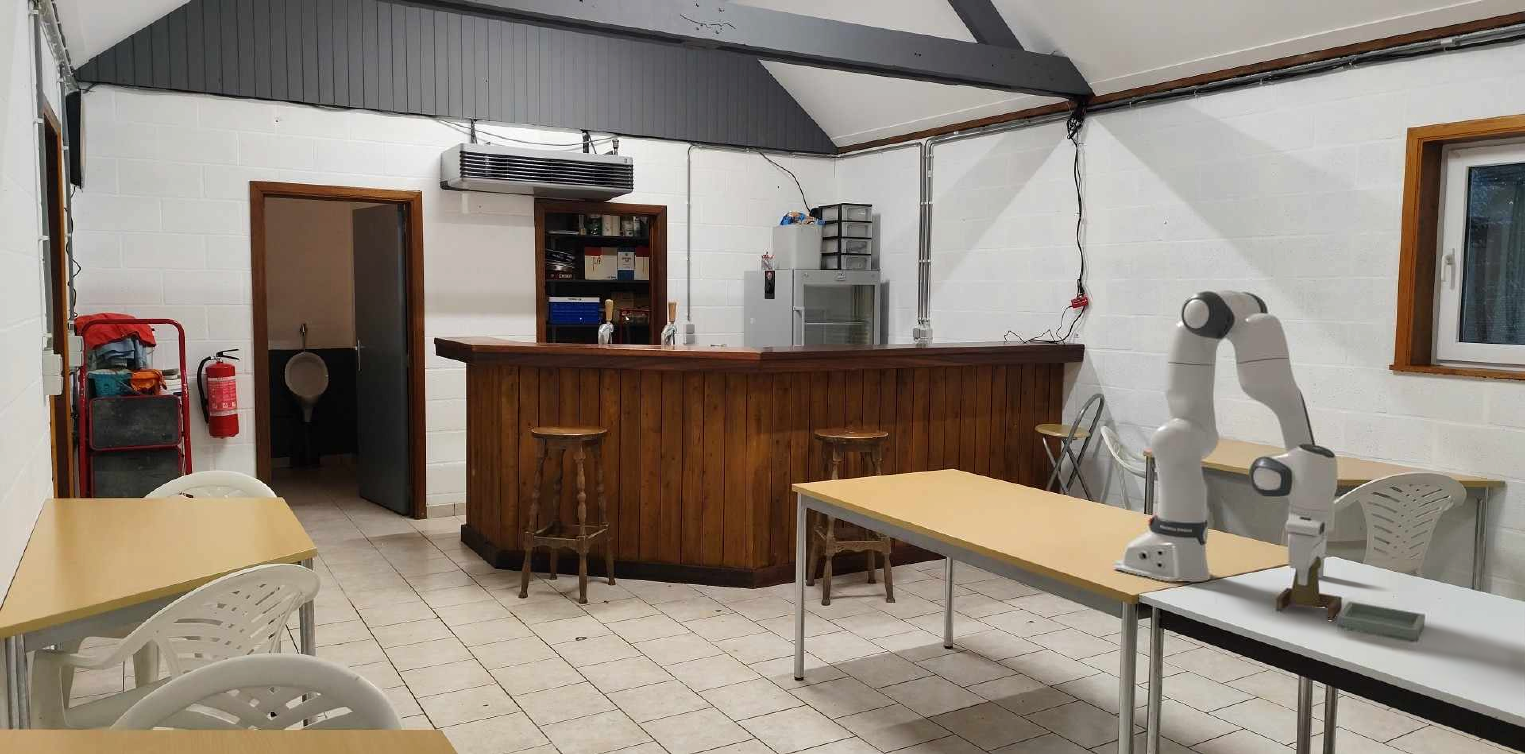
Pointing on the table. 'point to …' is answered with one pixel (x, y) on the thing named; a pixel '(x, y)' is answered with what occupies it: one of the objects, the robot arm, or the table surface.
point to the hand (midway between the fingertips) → (1305, 581)
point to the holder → (1325, 601)
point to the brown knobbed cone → (1307, 588)
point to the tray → (1381, 621)
